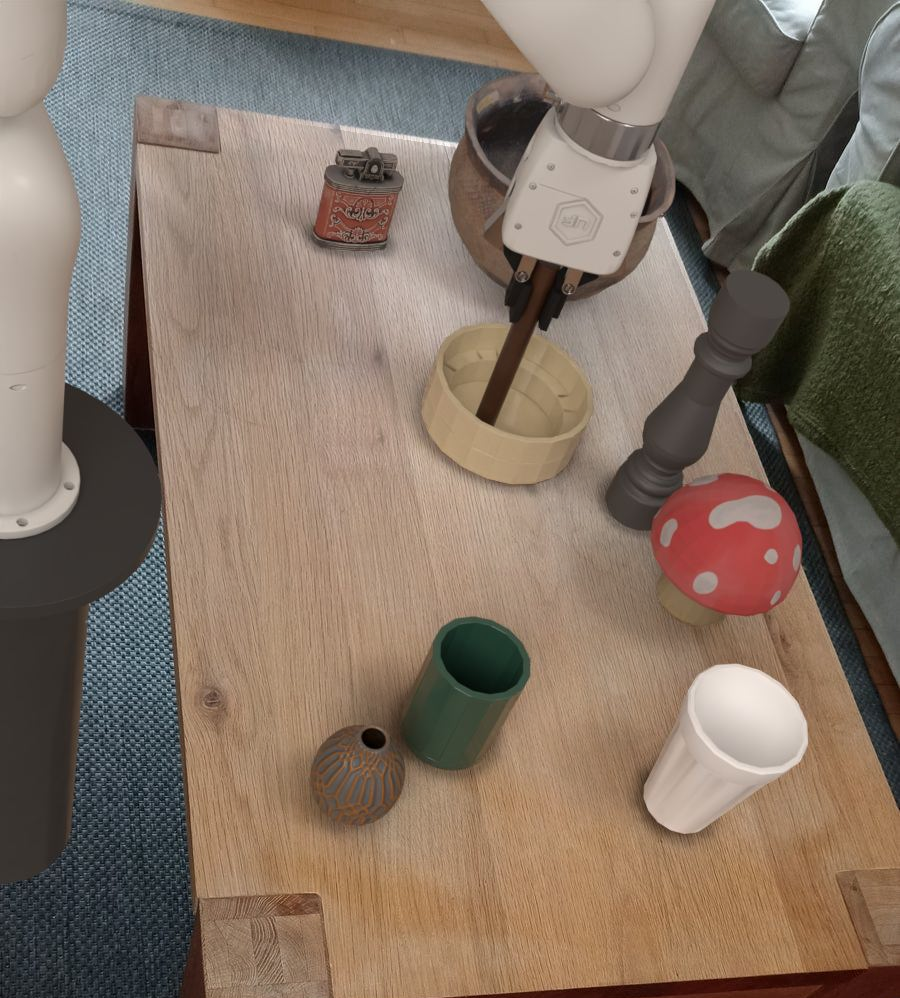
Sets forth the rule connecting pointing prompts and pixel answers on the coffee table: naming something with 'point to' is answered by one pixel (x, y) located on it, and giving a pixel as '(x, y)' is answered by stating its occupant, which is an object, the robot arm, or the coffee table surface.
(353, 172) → the lighter
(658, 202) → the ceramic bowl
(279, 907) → the coffee table surface
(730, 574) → the decorative mushroom
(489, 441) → the mixing bowl
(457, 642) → the crock
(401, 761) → the vase
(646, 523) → the candle holder
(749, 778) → the cup
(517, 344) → the stick
